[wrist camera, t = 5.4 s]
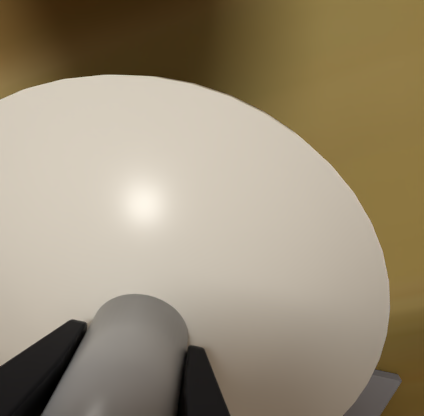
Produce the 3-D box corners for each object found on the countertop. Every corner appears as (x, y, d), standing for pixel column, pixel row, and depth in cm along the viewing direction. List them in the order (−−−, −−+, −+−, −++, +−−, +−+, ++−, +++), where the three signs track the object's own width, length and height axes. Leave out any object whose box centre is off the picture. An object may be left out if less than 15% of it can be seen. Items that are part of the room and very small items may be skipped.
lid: (463, 151, 8) (736, 240, 4) (288, 479, 13) (319, 679, 8) (-100, 8, 7) (-556, -85, 3) (-57, 412, 12) (-209, 592, 8)
